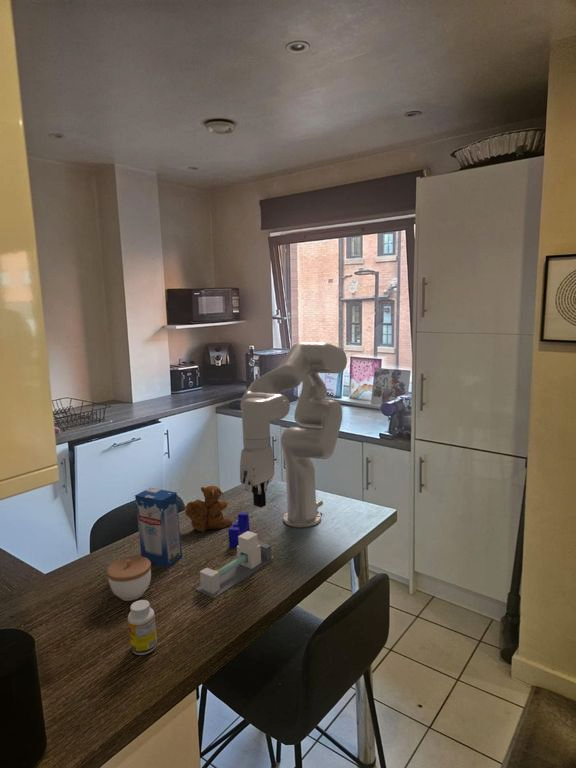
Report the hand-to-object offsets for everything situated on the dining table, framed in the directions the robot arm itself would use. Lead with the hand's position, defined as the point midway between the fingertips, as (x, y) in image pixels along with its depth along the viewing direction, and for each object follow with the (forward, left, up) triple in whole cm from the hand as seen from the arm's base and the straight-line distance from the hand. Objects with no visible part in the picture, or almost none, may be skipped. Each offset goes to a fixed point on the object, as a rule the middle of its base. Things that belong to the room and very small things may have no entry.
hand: (259, 505), depth 146 cm
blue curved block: (-5, -14, -16) cm, 22 cm away
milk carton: (+17, -24, -16) cm, 34 cm away
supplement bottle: (+44, +4, -16) cm, 47 cm away
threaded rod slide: (+10, 0, -16) cm, 19 cm away
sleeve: (+5, 0, -15) cm, 16 cm away
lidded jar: (+33, -16, -16) cm, 40 cm away
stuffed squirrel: (-6, -28, -16) cm, 33 cm away
